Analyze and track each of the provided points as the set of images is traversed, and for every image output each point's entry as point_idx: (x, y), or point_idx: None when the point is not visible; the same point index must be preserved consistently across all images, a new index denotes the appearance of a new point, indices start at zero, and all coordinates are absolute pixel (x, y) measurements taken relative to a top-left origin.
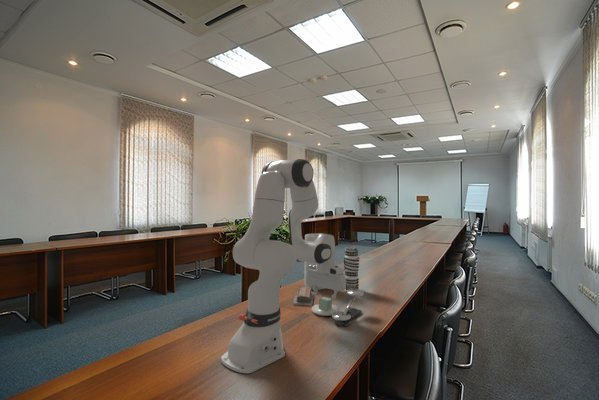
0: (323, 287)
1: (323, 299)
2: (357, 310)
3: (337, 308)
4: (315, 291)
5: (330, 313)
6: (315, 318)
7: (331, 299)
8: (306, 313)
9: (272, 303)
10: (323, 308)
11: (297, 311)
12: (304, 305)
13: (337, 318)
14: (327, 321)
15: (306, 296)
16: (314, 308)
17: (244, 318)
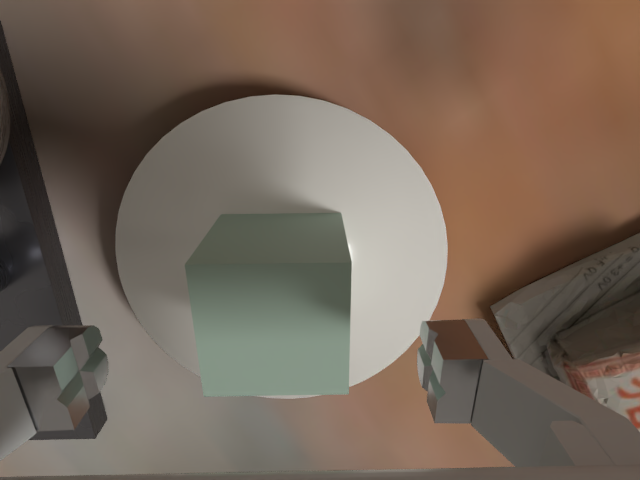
0: (199, 474)
1: (289, 308)
2: None
3: (178, 344)
4: (482, 365)
5: (146, 180)
6: (267, 13)
7: (203, 382)
8: (444, 81)
9: None
10: (269, 221)
11: (576, 63)
12: (570, 265)
13: None
14: (99, 28)
15: (628, 363)
16: (394, 195)
17: None
